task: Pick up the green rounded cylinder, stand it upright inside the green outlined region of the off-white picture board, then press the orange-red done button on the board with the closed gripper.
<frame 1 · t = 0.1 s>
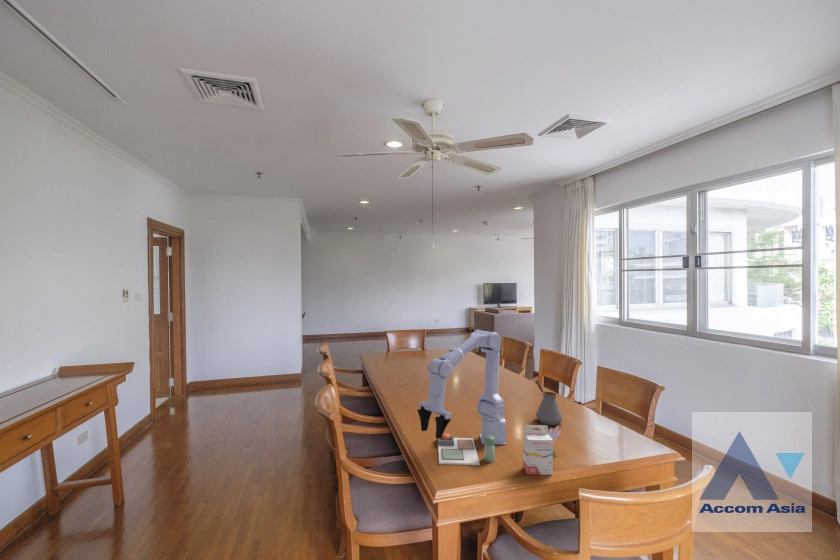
hand: (431, 434, 126), 11 cm above the table, tool pointing down, fingers open, 7 cm apart
done button: (445, 437, 142), point 2 cm above the table, slide at 0.0 cm
ink cartridge box: (537, 472, 122), on the table
picture board: (457, 451, 136), on the table
green rounded cylinder: (489, 459, 130), on the table
water lily: (544, 451, 137), on the table
coffee pot: (544, 418, 170), on the table
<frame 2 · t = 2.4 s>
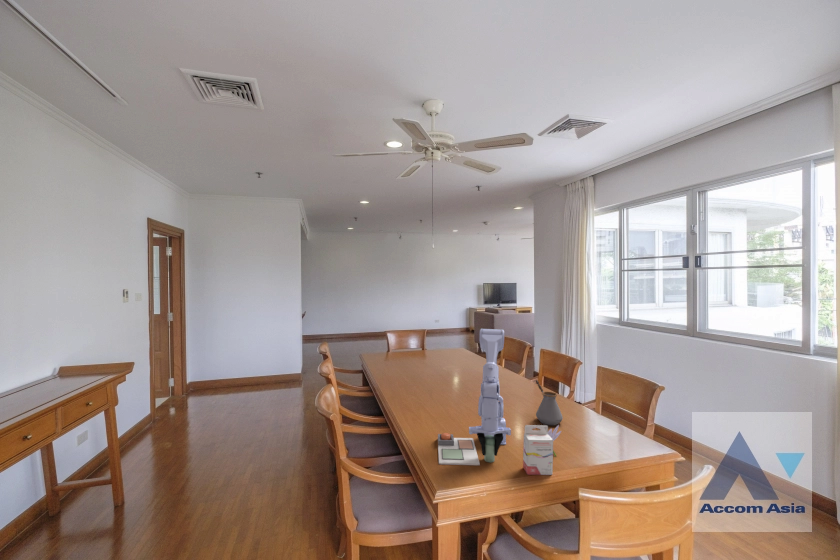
hand: (489, 454, 130), 2 cm above the table, tool pointing down, fingers closed on green rounded cylinder, 4 cm apart
green rounded cylinder: (489, 459, 130), on the table, touching gripper
everything else where it was.
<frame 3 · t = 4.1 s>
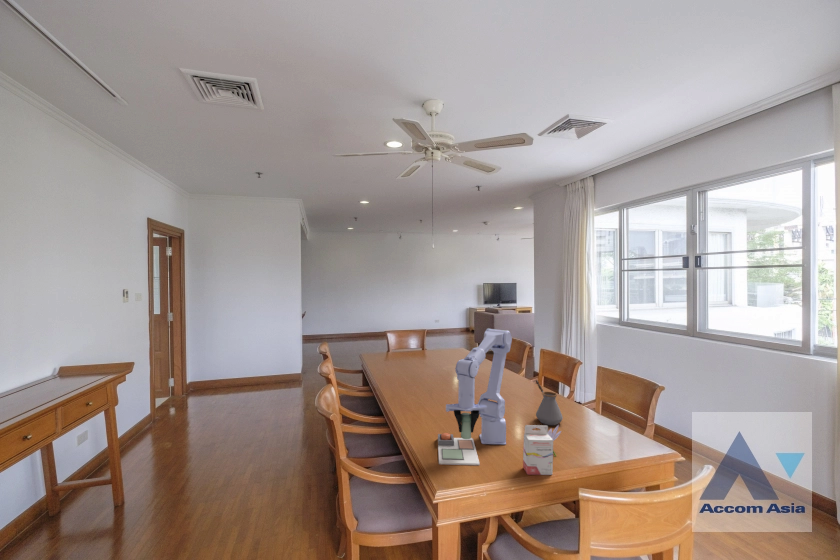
hand: (465, 431, 131), 9 cm above the table, tool pointing down, fingers closed on green rounded cylinder, 4 cm apart
green rounded cylinder: (465, 437, 131), point 7 cm above the table, touching gripper
everything else where it was.
when the fingers open (4 cm above the table, at t = 5.9 s): green rounded cylinder stays where it is, resting on picture board.
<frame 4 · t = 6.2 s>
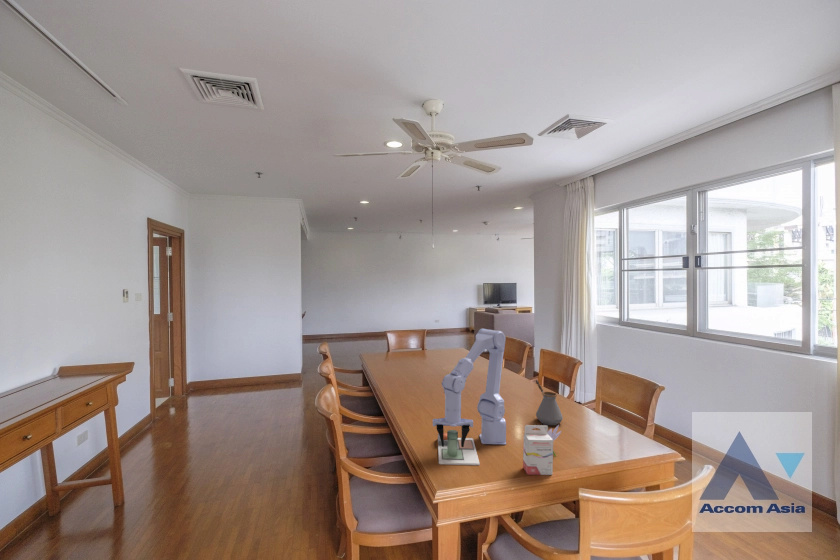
hand: (452, 445, 132), 4 cm above the table, tool pointing down, fingers open, 6 cm apart
green rounded cylinder: (452, 454, 132), point 1 cm above the table, touching picture board
everything else where it was.
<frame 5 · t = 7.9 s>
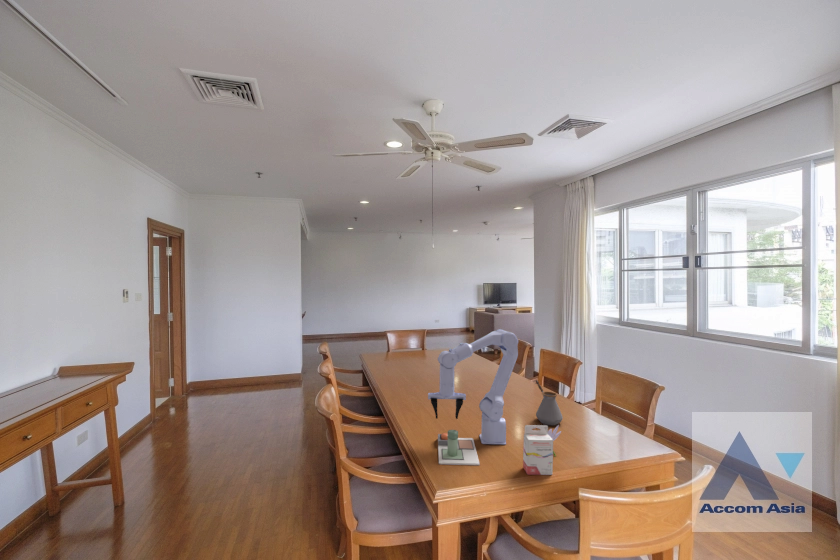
hand: (446, 417, 141), 10 cm above the table, tool pointing down, fingers open, 7 cm apart
nothing on the table moved.
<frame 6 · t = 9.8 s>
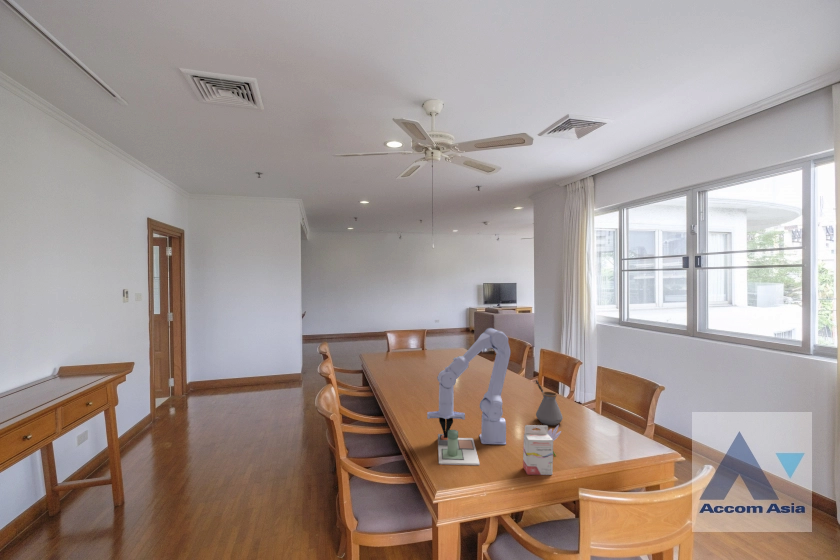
hand: (445, 436, 142), 3 cm above the table, tool pointing down, fingers closed, pressing on done button
done button: (445, 439, 142), point 2 cm above the table, slide at 0.7 cm, touching gripper
everything else where it was.
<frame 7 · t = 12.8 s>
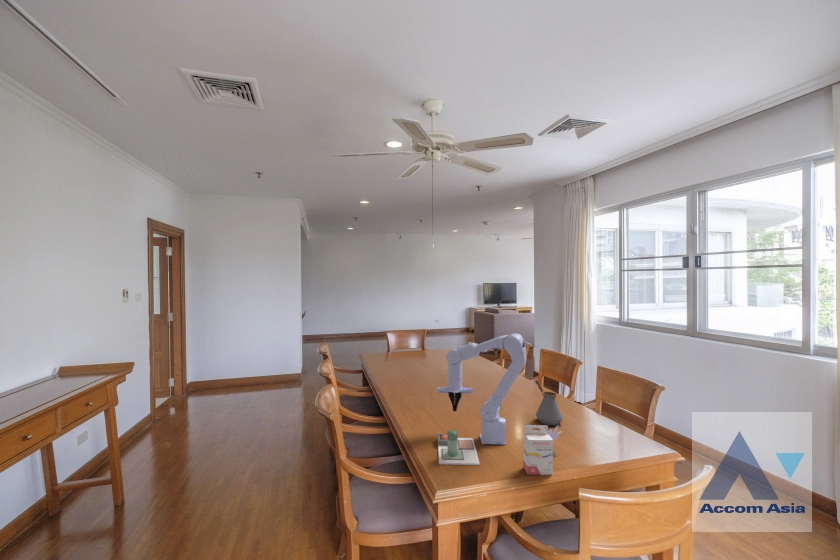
hand: (454, 410, 152), 9 cm above the table, tool pointing down, fingers closed
done button: (445, 439, 142), point 2 cm above the table, slide at 0.7 cm
everything else where it was.
at the end: green rounded cylinder 0.1 cm from the target spot on the picture board, point 0.9 cm above the picture board's base; green rounded cylinder tilted 2°; done button slide at 0.7 cm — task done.
